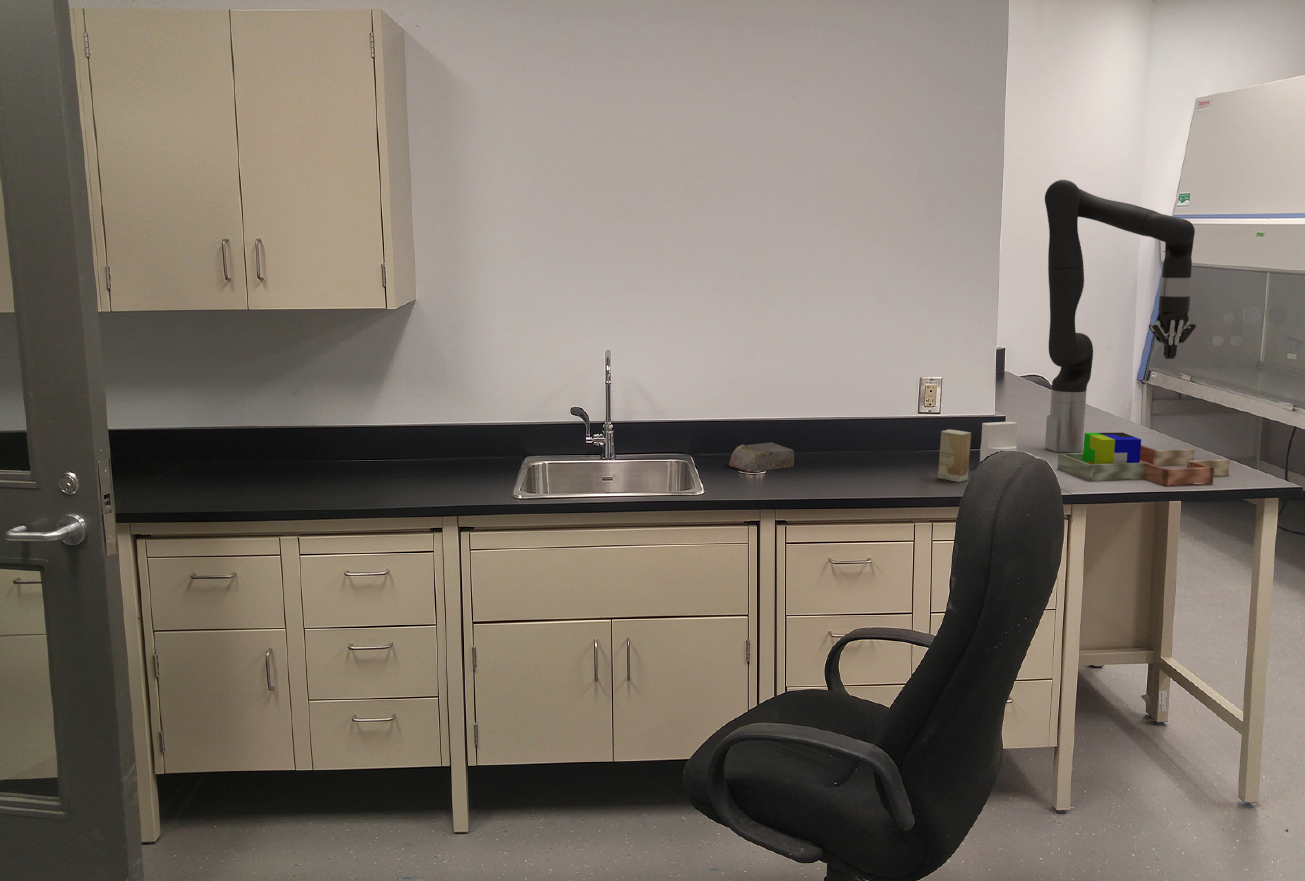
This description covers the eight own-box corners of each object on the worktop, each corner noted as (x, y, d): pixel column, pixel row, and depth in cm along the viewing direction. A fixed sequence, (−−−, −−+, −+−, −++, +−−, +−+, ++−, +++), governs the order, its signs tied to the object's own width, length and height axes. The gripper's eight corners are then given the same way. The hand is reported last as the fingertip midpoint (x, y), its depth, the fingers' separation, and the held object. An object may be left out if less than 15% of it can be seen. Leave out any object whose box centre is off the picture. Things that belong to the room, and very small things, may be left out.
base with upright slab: (992, 472, 277) (994, 426, 275) (972, 465, 285) (975, 421, 283) (1022, 470, 279) (1025, 425, 277) (1002, 463, 288) (1005, 419, 285)
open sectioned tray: (1106, 488, 258) (1107, 472, 258) (1042, 462, 289) (1043, 448, 288) (1250, 482, 264) (1251, 466, 263) (1172, 457, 294) (1173, 443, 293)
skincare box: (937, 478, 270) (939, 430, 268) (946, 476, 273) (948, 428, 271) (960, 482, 265) (962, 434, 263) (969, 479, 268) (971, 431, 266)
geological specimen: (797, 448, 285) (751, 451, 278) (795, 471, 286) (749, 474, 279) (773, 441, 294) (728, 443, 287) (771, 463, 295) (726, 466, 288)
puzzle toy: (1138, 478, 269) (1141, 439, 268) (1099, 479, 269) (1102, 439, 267) (1119, 470, 279) (1122, 432, 277) (1082, 470, 279) (1084, 432, 277)
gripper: (1160, 295, 285) (1155, 360, 288) (1206, 295, 286) (1200, 359, 289) (1144, 294, 292) (1139, 357, 295) (1188, 293, 294) (1183, 356, 297)
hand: (1169, 358), depth 292 cm, fingers closed
